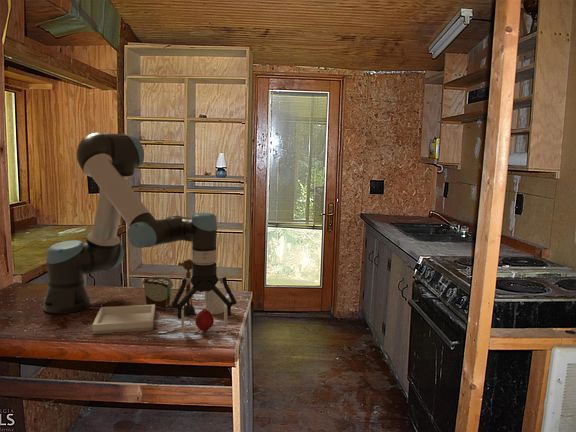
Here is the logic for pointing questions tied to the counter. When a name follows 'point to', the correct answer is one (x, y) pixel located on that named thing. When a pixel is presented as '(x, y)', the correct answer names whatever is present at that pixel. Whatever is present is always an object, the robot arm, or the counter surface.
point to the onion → (204, 320)
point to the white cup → (215, 300)
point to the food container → (158, 291)
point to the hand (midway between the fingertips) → (204, 326)
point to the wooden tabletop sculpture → (188, 308)
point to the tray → (124, 319)
